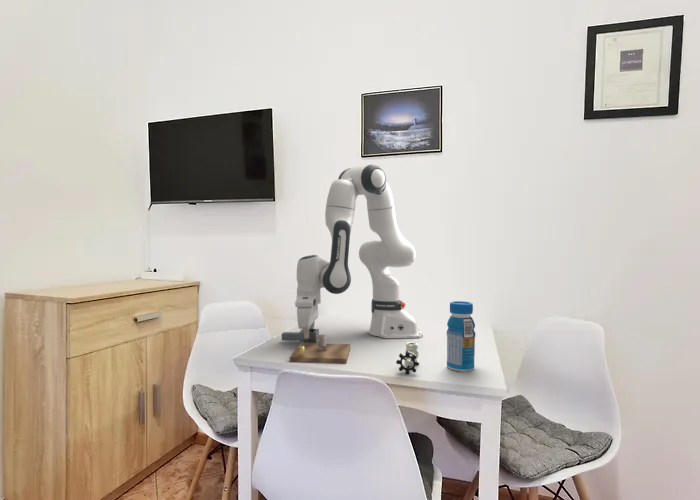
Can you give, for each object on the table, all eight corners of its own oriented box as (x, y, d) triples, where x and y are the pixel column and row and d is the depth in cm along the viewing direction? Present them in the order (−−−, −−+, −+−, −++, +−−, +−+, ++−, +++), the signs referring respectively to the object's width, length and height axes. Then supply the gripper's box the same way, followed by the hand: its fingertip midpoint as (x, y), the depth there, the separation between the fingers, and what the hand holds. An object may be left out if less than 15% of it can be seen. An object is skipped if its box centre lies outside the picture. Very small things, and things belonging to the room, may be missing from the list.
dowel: (304, 359, 127) (304, 345, 127) (303, 361, 125) (303, 347, 125) (300, 359, 127) (300, 345, 127) (299, 360, 125) (299, 346, 125)
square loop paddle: (319, 337, 150) (318, 328, 150) (315, 342, 144) (315, 332, 144) (284, 337, 152) (284, 328, 151) (280, 342, 145) (280, 332, 145)
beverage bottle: (444, 370, 117) (445, 303, 117) (447, 362, 125) (448, 299, 125) (474, 374, 114) (475, 305, 114) (475, 365, 122) (476, 301, 122)
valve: (402, 361, 126) (396, 373, 114) (402, 341, 126) (396, 350, 114) (423, 363, 124) (418, 375, 113) (423, 342, 124) (419, 352, 112)
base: (350, 348, 141) (350, 330, 141) (346, 363, 123) (346, 342, 123) (301, 346, 142) (301, 329, 142) (289, 361, 124) (289, 341, 124)
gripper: (306, 294, 157) (306, 328, 158) (293, 303, 137) (294, 342, 138) (321, 294, 157) (322, 329, 157) (311, 303, 137) (312, 342, 137)
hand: (309, 335), depth 147 cm, fingers closed on square loop paddle, 6 cm apart
